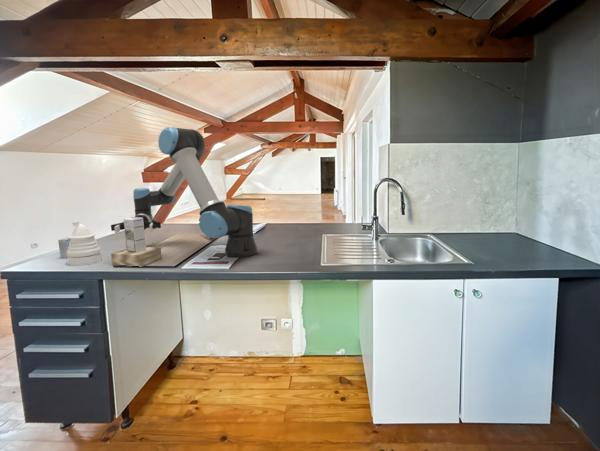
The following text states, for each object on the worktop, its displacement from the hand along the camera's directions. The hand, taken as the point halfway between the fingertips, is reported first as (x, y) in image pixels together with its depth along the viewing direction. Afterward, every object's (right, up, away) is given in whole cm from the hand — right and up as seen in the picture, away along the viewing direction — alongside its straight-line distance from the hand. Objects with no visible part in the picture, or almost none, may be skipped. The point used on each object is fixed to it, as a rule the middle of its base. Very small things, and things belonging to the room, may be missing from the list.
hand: (133, 229), depth 151 cm
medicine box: (-38, -13, +18) cm, 44 cm away
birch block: (-1, -14, +6) cm, 15 cm away
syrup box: (-1, -9, +5) cm, 11 cm away
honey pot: (-25, -15, +8) cm, 30 cm away
